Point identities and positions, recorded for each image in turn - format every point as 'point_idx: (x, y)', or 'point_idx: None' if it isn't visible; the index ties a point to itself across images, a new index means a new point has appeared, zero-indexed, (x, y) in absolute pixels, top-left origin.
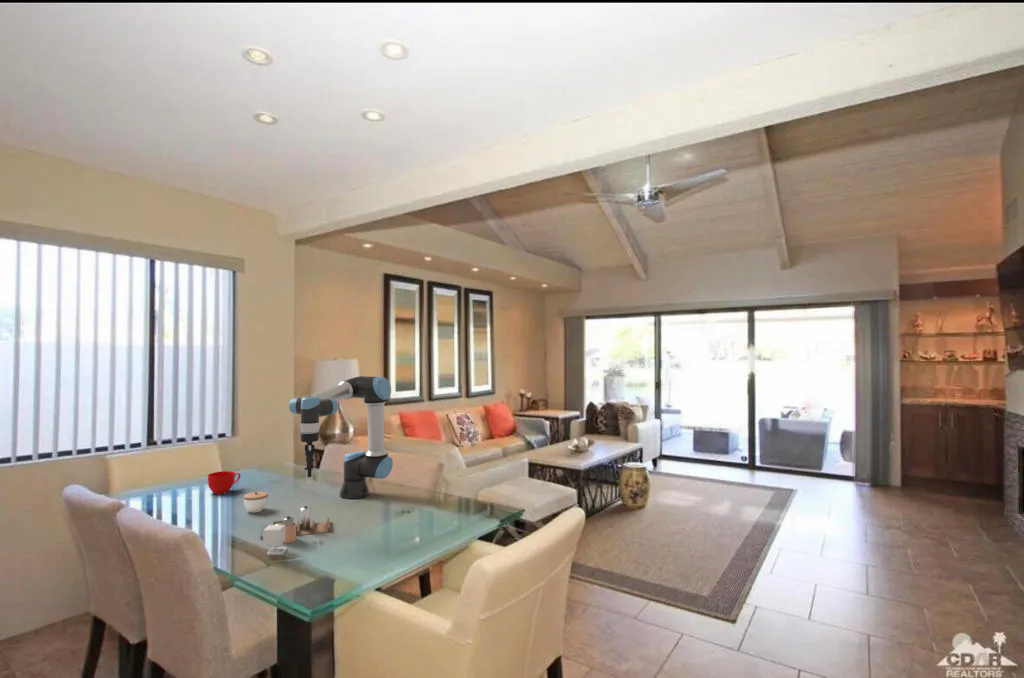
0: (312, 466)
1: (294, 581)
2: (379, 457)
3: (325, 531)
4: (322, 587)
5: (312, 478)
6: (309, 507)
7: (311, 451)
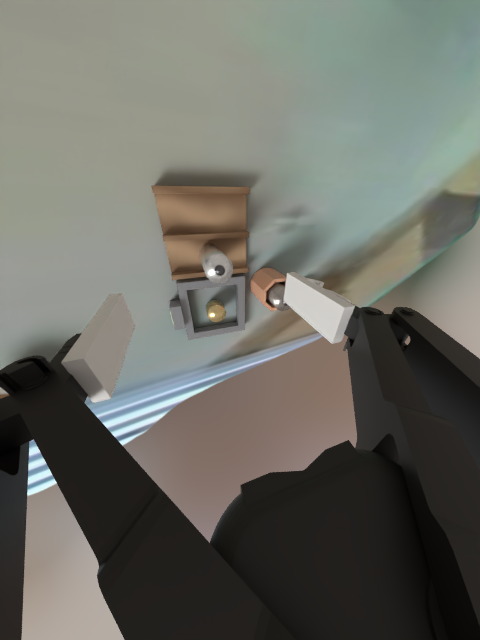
0: (421, 316)
1: (406, 251)
2: None
3: (242, 201)
4: (447, 212)
5: (312, 283)
6: (217, 258)
7: None
